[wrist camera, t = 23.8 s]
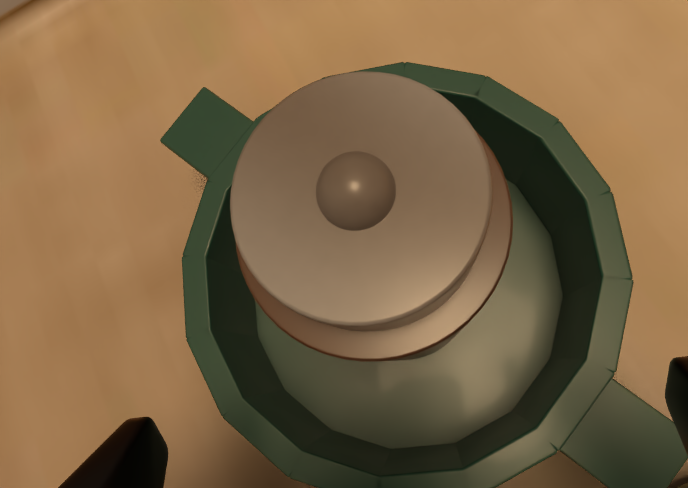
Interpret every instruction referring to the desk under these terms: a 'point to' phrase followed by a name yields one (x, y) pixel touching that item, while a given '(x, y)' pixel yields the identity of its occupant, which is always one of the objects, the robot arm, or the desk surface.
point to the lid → (683, 486)
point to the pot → (457, 355)
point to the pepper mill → (370, 217)
